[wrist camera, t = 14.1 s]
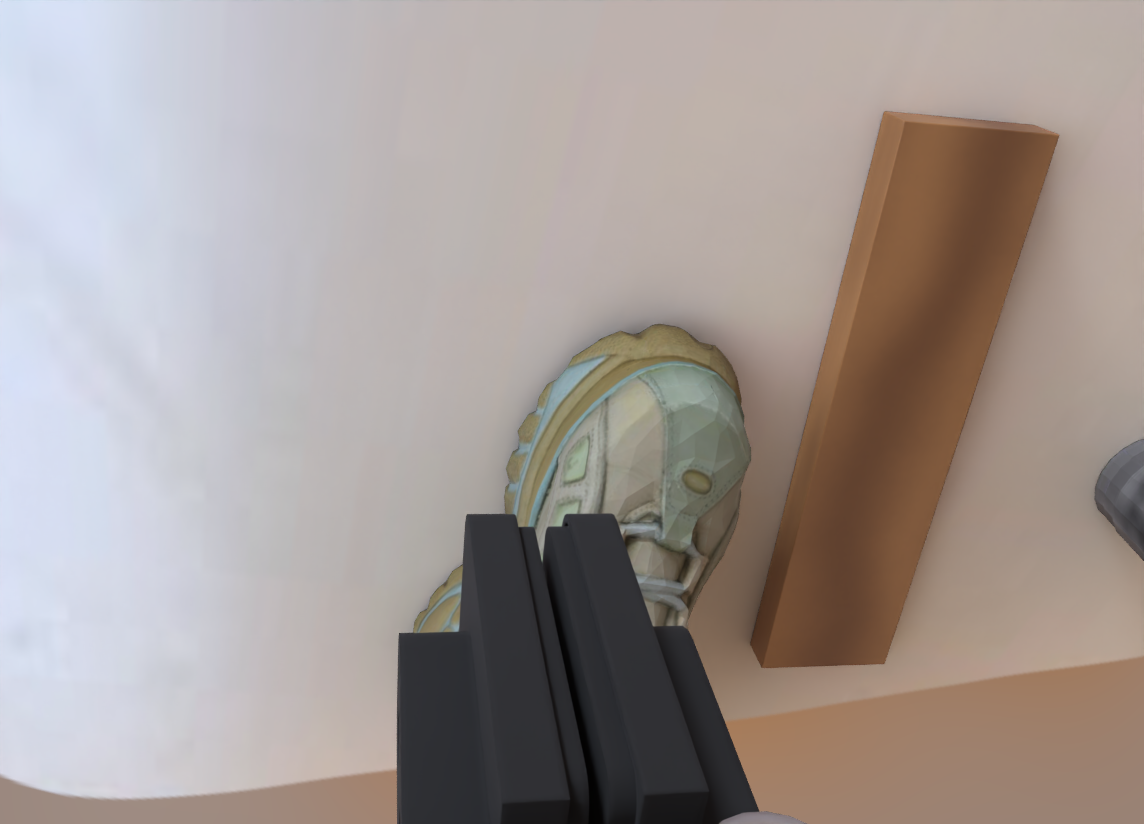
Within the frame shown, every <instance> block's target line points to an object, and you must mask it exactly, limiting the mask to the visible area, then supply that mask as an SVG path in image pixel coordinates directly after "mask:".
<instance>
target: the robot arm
mask: <svg viewBox="0 0 1144 824" xmlns="http://www.w3.org/2000/svg"><path fill="white" fill-rule="evenodd" d="M397 824H806V823H804V822H802V821H800V820H798V819H795V818H793V817H791V816H786V815H781V814H776V813H772V812H767V811H766V812H759V809H758V807H757V804H756V802H755V799H754V796H753V794H752V791H751V789H750V786H749V783H748V781H747V778H746V776H745V773H744V771H743V768H742V765H741V763H740V760H739V758H738V755H737V752H736V750H735V747H734V745H733V742H732V739H731V737H730V734H729V732H728V729H727V727H726V724H725V721H724V719H723V716H722V714H721V711H720V708H719V706H718V703H717V701H716V698H715V695H714V693H713V690H712V688H711V685H710V683H709V680H708V677H707V675H706V672H705V670H704V667H703V664H702V662H701V659H700V657H699V654H698V651H697V649H696V646H695V644H694V641H693V639H692V637H691V635H690V633H689V631H688V630H687V629H686V628H685V627H684V626H653V625H652V622H651V619H650V616H649V613H648V610H647V607H646V604H645V601H644V598H643V596H642V593H641V590H640V587H639V584H638V581H637V578H636V575H635V572H634V569H633V566H632V563H631V560H630V557H629V554H628V552H627V549H626V546H625V543H624V540H623V537H622V534H621V531H620V528H619V525H618V522H617V519H616V517H615V515H614V514H612V513H601V514H566V515H565V516H564V519H563V522H562V526H548V527H547V529H546V533H545V541H544V550H543V560H541V555H540V550H539V546H538V541H537V536H536V532H535V528H534V527H518V522H517V518H516V515H515V514H467V516H466V522H465V536H464V553H463V570H462V587H461V604H460V621H459V632H429V633H399V645H398V687H397Z"/></svg>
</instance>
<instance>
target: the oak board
mask: <svg viewBox="0 0 1144 824" xmlns="http://www.w3.org/2000/svg"><path fill="white" fill-rule="evenodd" d="M1058 138H1059V135H1058V134H1056V133H1053V132H1051V131H1048V130H1045V129H1043V128H1040V127H1038V126H1035V125H1028V124H1017V123H1006V122H996V121H985V120H974V119H963V118H952V117H941V116H931V115H920V114H909V113H898V112H887V111H885V112H884V114H883V118H882V122H881V126H880V130H879V134H878V138H877V142H876V146H875V150H874V154H873V158H872V162H871V166H870V170H869V174H868V178H867V181H866V185H865V189H864V193H863V197H862V201H861V205H860V209H859V213H858V217H857V221H856V225H855V229H854V233H853V237H852V241H851V245H850V249H849V253H848V257H847V261H846V265H845V269H844V273H843V277H842V281H841V285H840V289H839V293H838V297H837V301H836V305H835V309H834V313H833V317H832V321H831V325H830V329H829V333H828V337H827V341H826V345H825V349H824V353H823V357H822V361H821V365H820V369H819V373H818V377H817V381H816V385H815V389H814V393H813V397H812V401H811V405H810V409H809V413H808V417H807V421H806V425H805V429H804V433H803V437H802V441H801V445H800V449H799V453H798V457H797V461H796V465H795V469H794V473H793V477H792V481H791V485H790V489H789V493H788V496H787V500H786V504H785V508H784V512H783V516H782V520H781V524H780V528H779V532H778V536H777V540H776V544H775V548H774V552H773V556H772V560H771V564H770V568H769V572H768V576H767V580H766V584H765V588H764V592H763V596H762V600H761V604H760V608H759V612H758V616H757V620H756V624H755V628H754V632H753V636H752V640H751V644H750V645H751V647H752V649H753V651H754V653H755V655H756V657H757V659H758V661H759V663H760V665H761V667H762V668H778V667H807V666H837V665H867V664H884V663H885V661H886V658H887V655H888V652H889V649H890V646H891V643H892V640H893V637H894V633H895V630H896V627H897V624H898V621H899V618H900V615H901V612H902V609H903V606H904V603H905V600H906V597H907V594H908V591H909V588H910V585H911V582H912V579H913V576H914V573H915V570H916V567H917V564H918V561H919V558H920V555H921V552H922V549H923V546H924V543H925V540H926V537H927V534H928V531H929V528H930V525H931V522H932V519H933V516H934V513H935V510H936V507H937V504H938V501H939V498H940V495H941V491H942V488H943V485H944V482H945V479H946V476H947V473H948V470H949V467H950V464H951V461H952V458H953V455H954V452H955V449H956V446H957V443H958V440H959V437H960V434H961V431H962V428H963V425H964V422H965V419H966V416H967V413H968V410H969V407H970V404H971V401H972V398H973V395H974V392H975V389H976V386H977V383H978V380H979V377H980V374H981V371H982V368H983V365H984V362H985V359H986V356H987V353H988V350H989V346H990V343H991V340H992V337H993V334H994V331H995V328H996V325H997V322H998V319H999V316H1000V313H1001V310H1002V307H1003V304H1004V301H1005V298H1006V295H1007V292H1008V289H1009V286H1010V283H1011V280H1012V277H1013V274H1014V271H1015V268H1016V265H1017V262H1018V259H1019V256H1020V253H1021V250H1022V247H1023V244H1024V241H1025V238H1026V235H1027V232H1028V229H1029V226H1030V223H1031V220H1032V217H1033V214H1034V211H1035V208H1036V205H1037V201H1038V198H1039V195H1040V192H1041V189H1042V186H1043V183H1044V180H1045V177H1046V174H1047V171H1048V168H1049V165H1050V162H1051V159H1052V156H1053V153H1054V150H1055V147H1056V144H1057V141H1058Z"/></svg>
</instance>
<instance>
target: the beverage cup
mask: <svg viewBox="0 0 1144 824" xmlns="http://www.w3.org/2000/svg"><path fill="white" fill-rule="evenodd" d="M1095 501H1096V504H1097V507H1098V510H1099V511H1100V512H1101V513H1102V514H1103V515H1104V516H1105V517H1106V518H1107V519H1108V520H1109V521H1110V523H1111V524H1112V525H1113V526H1114V527H1115V529H1116V531H1117V533H1118V534H1119V535H1120V536H1121V537H1122V538H1123V539H1124V540H1125V541H1126V542H1127V543H1128V544H1129V546H1130V547H1131V548H1132V549H1133V550H1134V551H1135V552H1136V553H1137V554H1138V555H1139V556H1140V557H1141V558H1142V560H1143V561H1144V439H1143V440H1139V441H1137V442H1135V443H1133V444H1131V445H1130V446H1128V447H1126V448H1124V449H1123V450H1122V451H1120V452H1119V453H1118V454H1117V455H1116V456H1115V457H1113V458H1112V459H1111V460H1110V462H1109V463H1108V464H1107V466H1106V467H1105V468H1104V470H1103V471H1102V472H1101V474H1100V477H1099V479H1098V482H1097V484H1096V488H1095Z"/></svg>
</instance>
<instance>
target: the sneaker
mask: <svg viewBox="0 0 1144 824" xmlns="http://www.w3.org/2000/svg"><path fill="white" fill-rule="evenodd" d="M518 434H519V447H518V449H517V450H515V451H513V453H512V455H511V458H510V460H509V462H508V465H507V467H506V470H507V474H508V478H509V482H510V484H509V485H508V486H506V490H505V496H504V499H505V513H506V514H515V515H516V518H517V522H518V527H534V528H535V532H536V536H537V541H538V546H539V550H540V555H541V560H543V550H544V541H545V533H546V529H547V527H548V526H562V522H563V519H564V516H565V515H566V514H601V513H612V514H614V515H615V517H616V519H617V522H618V525H619V528H620V531H621V534H622V537H623V540H624V543H625V546H626V549H627V552H628V554H629V557H630V560H631V563H632V566H633V569H634V572H635V575H636V578H637V581H638V584H639V587H640V590H641V593H642V596H643V598H644V601H645V604H646V607H647V610H648V613H649V616H650V619H651V622H652V625H653V626H684V627H685V628H686V629H687V630H688V619H689V616H690V613H691V611H692V609H693V607H694V605H695V602H696V600H697V598H698V596H699V594H700V592H701V590H702V588H703V586H704V584H705V583H706V581H707V580H708V578H709V576H710V575H711V573H712V572H713V570H714V569H715V567H716V566H717V564H718V563H719V561H720V560H721V558H722V557H723V555H724V553H725V551H726V548H727V546H728V544H729V541H730V539H731V537H732V535H733V532H734V530H735V527H736V523H737V520H738V516H739V507H740V499H741V489H740V488H741V485H742V482H743V479H744V476H745V472H746V470H747V468H748V466H749V463H750V461H751V447H750V444H749V441H748V438H747V435H746V431H745V427H744V414H743V411H742V408H741V395H740V390H739V385H738V380H737V377H736V375H735V372H734V370H733V368H732V366H731V364H730V363H729V361H728V360H727V358H726V357H725V356H724V355H723V353H722V352H721V351H720V350H719V349H718V348H717V347H716V346H714V345H710V344H705V343H701V342H699V341H697V340H696V339H695V338H694V337H692V336H691V335H690V334H689V333H688V332H686V331H685V330H683V329H681V328H679V327H675V326H669V325H663V324H656V325H652V326H650V327H649V328H647V329H645V330H644V331H642V332H640V333H638V334H634V335H632V334H629V333H626V332H623V331H619V332H617V333H614V334H612V335H609V336H607V337H604V338H602V339H600V340H599V341H598V342H596V343H595V344H594V345H592V346H590V347H589V348H587V349H585V350H584V351H582V352H581V353H579V354H577V355H576V356H574V357H573V358H572V360H571V362H570V364H569V365H568V367H567V369H566V370H565V371H564V372H563V373H562V374H561V376H560V377H559V378H558V379H557V380H555V381H553V382H551V383H549V384H548V385H547V386H546V388H545V389H544V391H543V392H542V394H541V395H540V397H539V401H538V406H537V411H535V412H533V413H531V414H529V415H528V416H527V418H526V419H525V421H524V422H523V424H522V425H521V427H520V428H519V430H518ZM462 570H463V565H461V566H460V567H458V568H457V569H455V570H454V571H452V573H451V575H450V576H449V578H448V580H447V581H446V582H445V583H444V584H443V585H442V586H440V587H439V588H438V589H437V590H436V591H435V593H434V594H433V595H432V597H431V598H430V603H429V606H428V609H427V610H425V611H422V612H420V614H419V615H418V617H417V619H416V620H415V623H414V630H413V633H429V632H459V621H460V604H461V587H462Z"/></svg>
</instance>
